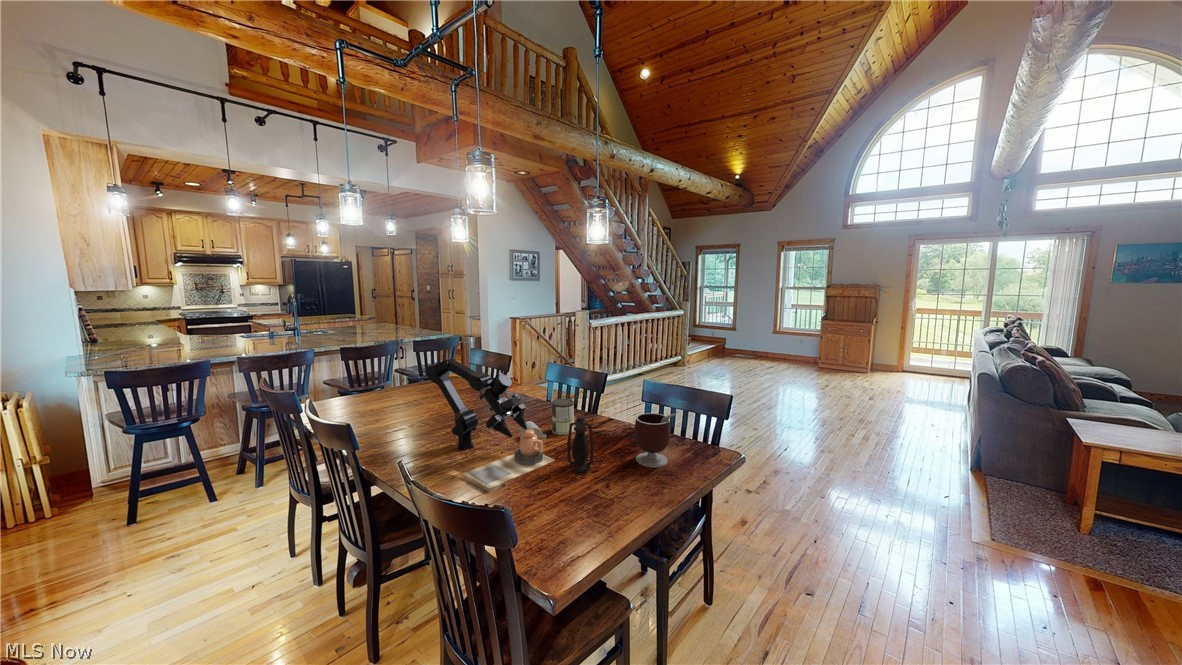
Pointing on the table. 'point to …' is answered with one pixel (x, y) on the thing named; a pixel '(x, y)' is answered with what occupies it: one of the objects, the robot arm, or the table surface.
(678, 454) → the table surface
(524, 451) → the peach jug
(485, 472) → the board
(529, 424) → the ceramic mug
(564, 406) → the coffee can
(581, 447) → the lantern
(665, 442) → the mate gourd
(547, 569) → the table surface
